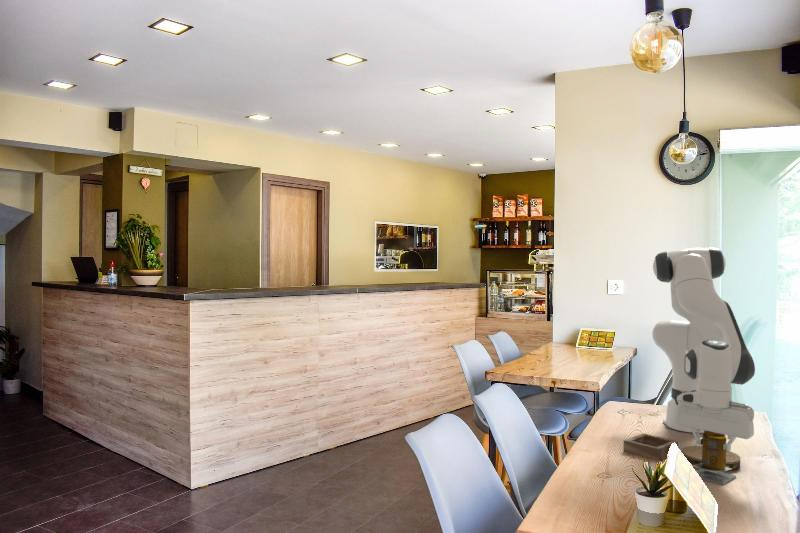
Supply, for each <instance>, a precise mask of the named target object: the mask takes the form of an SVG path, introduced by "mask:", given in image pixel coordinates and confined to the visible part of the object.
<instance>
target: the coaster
mask: <svg viewBox="0 0 800 533" xmlns="http://www.w3.org/2000/svg"><path fill="white" fill-rule="evenodd" d="M696 471H697V473H698V474H699V476H700V477H701V478H702V479H703V481H706V482H709V483H714V484H717V485H720V486H721V485H722V486H724V485H726V484H727V483H730V482H731V481H734V479H737V475H734V474H731V473H726V472H718V473H714V472H710V471H705V470H703V469H699V468H698V469H697V470H696ZM702 479H701V480H702Z"/></svg>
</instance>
